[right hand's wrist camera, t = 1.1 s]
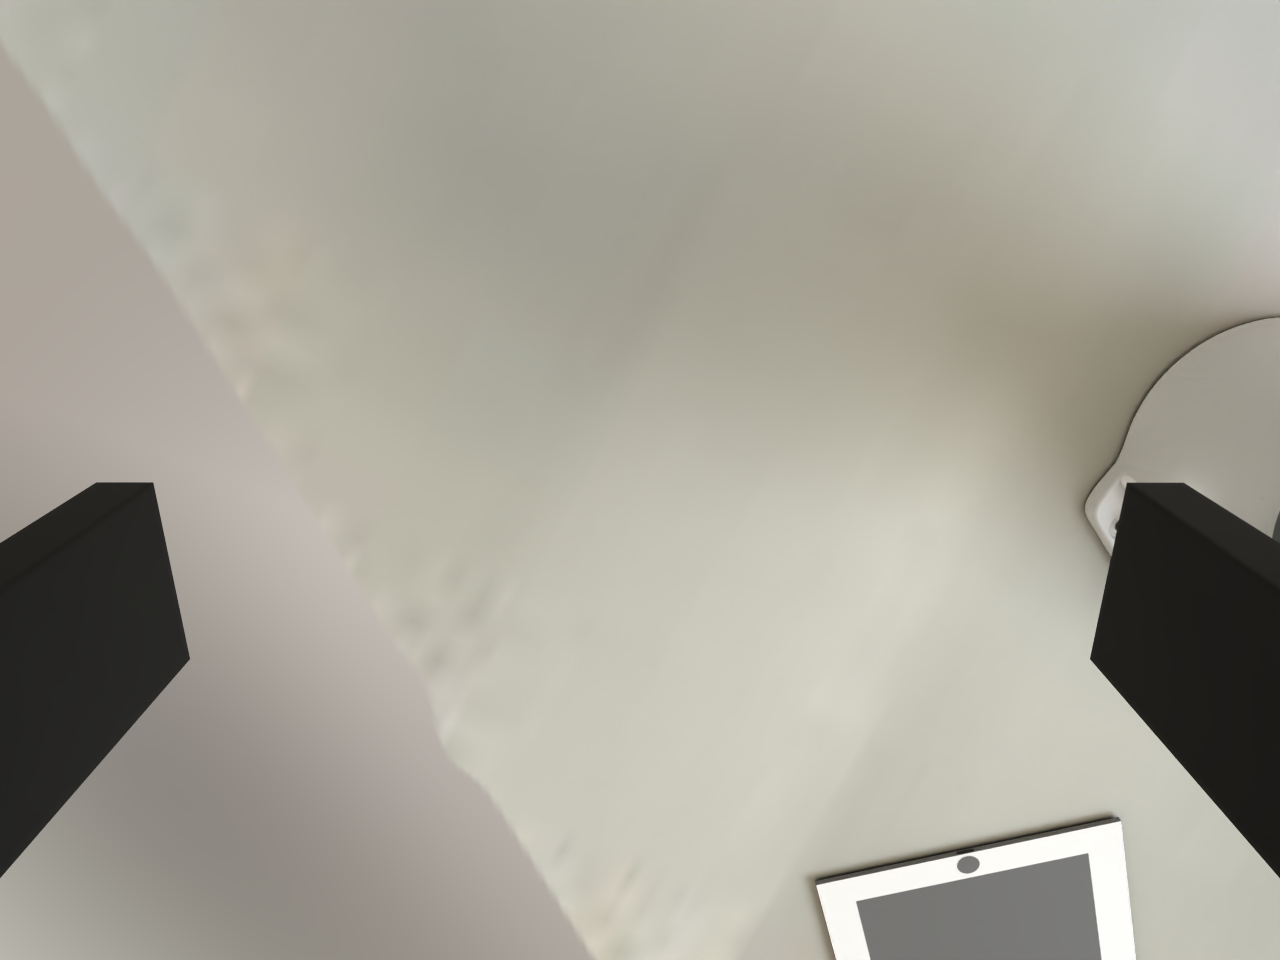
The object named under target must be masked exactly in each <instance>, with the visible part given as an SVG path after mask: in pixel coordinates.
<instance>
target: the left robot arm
mask: <svg viewBox="0 0 1280 960" xmlns="http://www.w3.org/2000/svg"><path fill="white" fill-rule="evenodd" d="M1127 483H1185V484H1187V485H1188V486H1190V487H1191V488H1193V489H1195V490H1196V491H1198V492H1199V493H1201V494H1203V495H1204V496H1206V497H1207V498H1209V499H1211V500H1212V501H1214V502H1215V503H1217V504H1218V505H1220V506H1222V507H1223V508H1225V509H1226V510H1228V511H1230V512H1231V513H1233V514H1234V515H1236V516H1237V517H1239V518H1241V519H1242V520H1244V521H1245V522H1247V523H1249V524H1250V525H1252V526H1253V527H1255V528H1256V529H1258V530H1260V531H1261V532H1263V533H1264V534H1266V535H1268V536H1269V537H1271V538H1272V539H1274V540H1276V541H1277V542H1279V543H1280V317H1277V318H1268V319H1263V320H1257V321H1253V322H1249V323H1246V324H1243V325H1240V326H1237V327H1234V328H1232V329H1229V330H1227V331H1224V332H1222V333H1220V334H1218V335H1216V336H1214V337H1212V338H1210V339H1209V340H1207V341H1205V342H1203V343H1202V344H1200V345H1199V346H1197V347H1196V348H1194V349H1193V350H1191V351H1190V352H1189V353H1187V354H1186V355H1185V356H1183V357H1182V358H1181V359H1180V360H1179V361H1177V362H1176V363H1175V364H1174V365H1173V366H1172V367H1171V368H1170V369H1169V370H1168V371H1167V372H1166V373H1165V374H1164V375H1163V376H1162V377H1161V378H1160V379H1159V381H1158V382H1157V383H1156V384H1155V385H1154V387H1153V388H1152V389H1151V391H1150V392H1149V393H1148V395H1147V396H1146V398H1145V399H1144V401H1143V402H1142V404H1141V406H1140V407H1139V409H1138V411H1137V413H1136V415H1135V417H1134V419H1133V421H1132V424H1131V426H1130V429H1129V431H1128V434H1127V437H1126V440H1125V442H1124V445H1123V448H1122V451H1121V453H1120V455H1119V457H1118V459H1117V461H1116V463H1115V464H1114V465H1113V467H1112V468H1111V469H1110V470H1109V471H1108V472H1107V473H1106V475H1105V476H1104V477H1103V478H1102V479H1101V480H1100V482H1099V483H1098V484H1097V485H1096V487H1095V488H1094V489H1093V491H1092V492H1091V494H1090V495H1089V497H1088V499H1087V501H1086V505H1085V513H1086V516H1087V518H1088V520H1089V522H1090V523H1091V525H1092V527H1093V528H1094V530H1095V532H1096V533H1097V535H1098V536H1099V538H1100V540H1101V541H1102V543H1103V545H1104V546H1105V548H1106V550H1107V551H1108V553H1109V554H1110V556H1112V551H1113V546H1114V542H1115V537H1116V532H1117V527H1115V524H1116V523H1117V521H1119V518H1120V513H1121V508H1122V503H1123V498H1124V494H1125V489H1126V484H1127Z"/></svg>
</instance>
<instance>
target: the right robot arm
mask: <svg viewBox="0 0 1280 960" xmlns="http://www.w3.org/2000/svg"><path fill="white" fill-rule="evenodd" d="M189 660H190V657H189V652H188V648H187V643H186V638H185V633H184V628H183V623H182V619H181V614H180V609H179V604H178V599H177V595H176V590H175V585H174V580H173V575H172V571H171V566H170V561H169V556H168V552H167V547H166V542H165V537H164V532H163V527H162V523H161V518H160V513H159V508H158V503H157V498H156V494H155V489H154V484H153V483H95V484H93V485H92V486H90V487H89V488H87V489H85V490H84V491H82V492H81V493H79V494H78V495H76V496H74V497H73V498H71V499H70V500H68V501H66V502H65V503H63V504H62V505H60V506H58V507H57V508H55V509H54V510H52V511H50V512H49V513H47V514H46V515H44V516H43V517H41V518H39V519H38V520H36V521H35V522H33V523H31V524H30V525H28V526H27V527H25V528H24V529H22V530H20V531H19V532H17V533H16V534H14V535H12V536H11V537H9V538H8V539H6V540H5V541H3V542H1V543H0V878H1V876H2V875H3V874H4V873H5V872H6V871H7V870H8V868H9V867H10V866H11V865H12V864H13V863H14V861H15V860H16V859H17V858H18V857H19V856H20V855H21V853H22V852H23V851H24V850H25V849H26V848H27V846H28V845H29V844H30V843H31V842H32V841H33V840H34V838H35V837H36V836H37V835H38V834H39V833H40V831H41V830H42V829H43V828H44V827H45V826H46V824H47V823H48V822H49V821H50V820H51V819H52V818H53V816H54V815H55V814H56V813H57V812H58V811H59V810H60V808H61V807H62V806H63V805H64V804H65V803H66V801H67V800H68V799H69V798H70V797H71V796H72V795H73V793H74V792H75V791H76V790H77V789H78V788H79V786H80V785H81V784H82V783H83V782H84V781H85V780H86V778H87V777H88V776H89V775H90V774H91V773H92V771H93V770H94V769H95V768H96V767H97V766H98V765H99V763H100V762H101V761H102V760H103V759H104V758H105V756H106V755H107V754H108V753H109V752H110V751H111V750H112V748H113V747H114V746H115V745H116V744H117V743H118V741H119V740H120V739H121V738H122V737H123V736H124V735H125V733H126V732H127V731H128V730H129V729H130V728H131V726H132V725H133V724H134V723H135V722H136V721H137V720H138V718H139V717H140V716H141V715H142V714H143V713H144V711H145V710H146V709H147V708H148V707H149V706H150V705H151V703H152V702H153V701H154V700H155V699H156V698H157V696H158V695H159V694H160V693H161V692H162V691H163V689H164V688H165V687H166V686H167V685H168V684H169V683H170V681H171V680H172V679H173V678H174V677H175V676H176V675H177V673H178V672H179V671H180V670H181V669H182V668H183V666H184V665H185V664H186V663H187V662H188V661H189ZM1090 660H1091V661H1092V662H1093V663H1094V664H1095V665H1096V666H1097V668H1098V669H1099V670H1100V671H1101V672H1102V673H1103V675H1104V676H1105V677H1106V678H1107V679H1108V680H1109V681H1110V683H1111V684H1112V685H1113V686H1114V687H1115V688H1116V690H1117V691H1118V692H1119V693H1120V694H1121V695H1122V696H1123V698H1124V699H1125V700H1126V701H1127V702H1128V703H1129V705H1130V706H1131V707H1132V708H1133V709H1134V710H1135V711H1136V713H1137V714H1138V715H1139V716H1140V717H1141V718H1142V720H1143V721H1144V722H1145V723H1146V724H1147V725H1148V726H1149V728H1150V729H1151V730H1152V731H1153V732H1154V733H1155V735H1156V736H1157V737H1158V738H1159V739H1160V740H1161V741H1162V743H1163V744H1164V745H1165V746H1166V747H1167V748H1168V750H1169V751H1170V752H1171V753H1172V754H1173V755H1174V756H1175V758H1176V759H1177V760H1178V761H1179V762H1180V763H1181V765H1182V766H1183V767H1184V768H1185V769H1186V770H1187V771H1188V773H1189V774H1190V775H1191V776H1192V777H1193V778H1194V780H1195V781H1196V782H1197V783H1198V784H1199V785H1200V786H1201V788H1202V789H1203V790H1204V791H1205V792H1206V793H1207V795H1208V796H1209V797H1210V798H1211V799H1212V800H1213V801H1214V803H1215V804H1216V805H1217V806H1218V807H1219V808H1220V810H1221V811H1222V812H1223V813H1224V814H1225V815H1226V816H1227V818H1228V819H1229V820H1230V821H1231V822H1232V823H1233V825H1234V826H1235V827H1236V828H1237V829H1238V830H1239V831H1240V833H1241V834H1242V835H1243V836H1244V837H1245V838H1246V840H1247V841H1248V842H1249V843H1250V844H1251V845H1252V846H1253V848H1254V849H1255V850H1256V851H1257V852H1258V853H1259V855H1260V856H1261V857H1262V858H1263V859H1264V860H1265V861H1266V863H1267V864H1268V865H1269V866H1270V867H1271V868H1272V870H1273V871H1274V872H1275V873H1276V874H1277V875H1278V876H1279V878H1280V543H1279V542H1277V541H1276V540H1274V539H1272V538H1271V537H1269V536H1268V535H1266V534H1264V533H1263V532H1261V531H1260V530H1258V529H1256V528H1255V527H1253V526H1252V525H1250V524H1249V523H1247V522H1245V521H1244V520H1242V519H1241V518H1239V517H1237V516H1236V515H1234V514H1233V513H1231V512H1230V511H1228V510H1226V509H1225V508H1223V507H1222V506H1220V505H1218V504H1217V503H1215V502H1214V501H1212V500H1211V499H1209V498H1207V497H1206V496H1204V495H1203V494H1201V493H1199V492H1198V491H1196V490H1195V489H1193V488H1191V487H1190V486H1188V485H1187V484H1185V483H1127V484H1126V489H1125V494H1124V498H1123V503H1122V508H1121V513H1120V518H1119V522H1118V527H1117V532H1116V537H1115V542H1114V546H1113V551H1112V556H1111V561H1110V566H1109V570H1108V575H1107V580H1106V585H1105V590H1104V595H1103V599H1102V604H1101V609H1100V614H1099V619H1098V623H1097V628H1096V633H1095V638H1094V643H1093V647H1092V652H1091V657H1090Z"/></svg>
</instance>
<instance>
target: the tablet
mask: <svg viewBox="0 0 1280 960" xmlns="http://www.w3.org/2000/svg"><path fill="white" fill-rule="evenodd" d="M815 883H816V886H817V890H818V894H819V898H820V901H821V905H822V909H823V913H824V916H825V920H826V924H827V927H828V931H829V935H830V939H831V942H832V946H833V950H834V954H835V957H836V960H1136V956H1135V947H1134V937H1133V928H1132V919H1131V909H1130V900H1129V890H1128V881H1127V872H1126V862H1125V853H1124V844H1123V834H1122V825H1121V820H1120V819H1119V817H1117V818H1112V819H1107V820H1102V821H1098V822H1093V823H1088V824H1083V825H1079V826H1074V827H1069V828H1064V829H1060V830H1055V831H1050V832H1045V833H1041V834H1036V835H1031V836H1026V837H1022V838H1017V839H1012V840H1007V841H1003V842H998V843H993V844H988V845H984V846H979V847H974V848H969V849H965V850H960V851H955V852H950V853H946V854H941V855H936V856H932V857H927V858H922V859H917V860H913V861H908V862H903V863H898V864H894V865H889V866H884V867H879V868H875V869H870V870H865V871H860V872H856V873H851V874H846V875H841V876H837V877H832V878H827V879H822V880H818V881H815Z"/></svg>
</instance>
